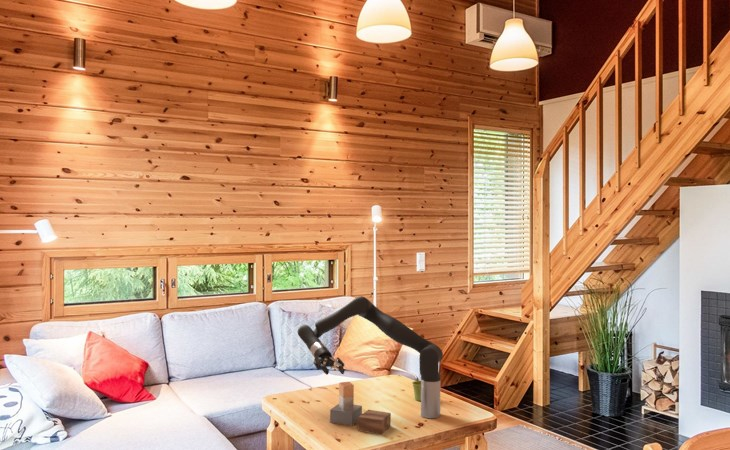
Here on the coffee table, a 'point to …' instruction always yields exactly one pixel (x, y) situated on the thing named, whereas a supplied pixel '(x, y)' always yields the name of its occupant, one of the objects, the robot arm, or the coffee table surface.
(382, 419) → the stand
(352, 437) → the coffee table surface
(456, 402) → the coffee table surface
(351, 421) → the stand
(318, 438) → the coffee table surface
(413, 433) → the coffee table surface
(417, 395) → the plant pot
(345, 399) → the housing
